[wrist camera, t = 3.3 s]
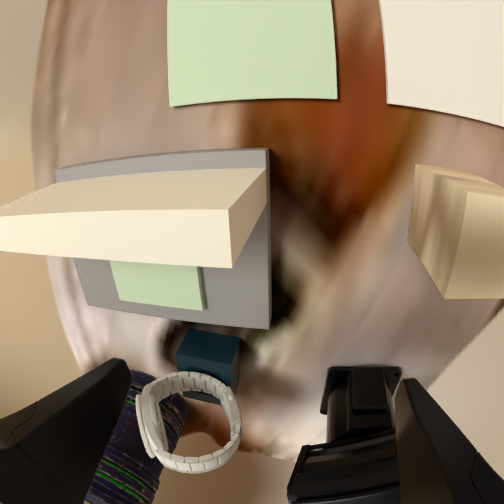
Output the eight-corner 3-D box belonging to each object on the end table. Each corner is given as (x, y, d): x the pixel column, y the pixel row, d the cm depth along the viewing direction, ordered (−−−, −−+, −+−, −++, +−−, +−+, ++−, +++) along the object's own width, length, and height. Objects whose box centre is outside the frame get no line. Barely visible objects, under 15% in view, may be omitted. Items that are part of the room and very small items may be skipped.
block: (457, 243, 17) (505, 298, 11) (406, 240, 18) (444, 299, 12) (468, 171, 15) (530, 202, 9) (415, 164, 16) (467, 191, 10)
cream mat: (515, 130, 13) (518, 131, 13) (386, 103, 15) (388, 103, 14) (501, 2, 9) (504, 1, 8) (372, -36, 11) (373, -39, 10)
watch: (168, 323, 25) (104, 424, 15) (262, 341, 23) (229, 463, 14) (175, 368, 27) (127, 460, 17) (258, 385, 26) (230, 491, 16)
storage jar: (126, 410, 34) (77, 497, 20) (102, 360, 29) (31, 458, 16) (195, 430, 32) (155, 532, 19) (181, 380, 28) (120, 507, 14)
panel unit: (271, 316, 22) (245, 422, 14) (96, 296, 25) (33, 361, 17) (268, 147, 17) (226, 177, 9) (67, 166, 20) (-27, 203, 12)
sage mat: (336, 99, 15) (337, 98, 15) (172, 106, 17) (169, 106, 17) (324, -40, 11) (325, -43, 11) (170, -23, 13) (168, -25, 13)
